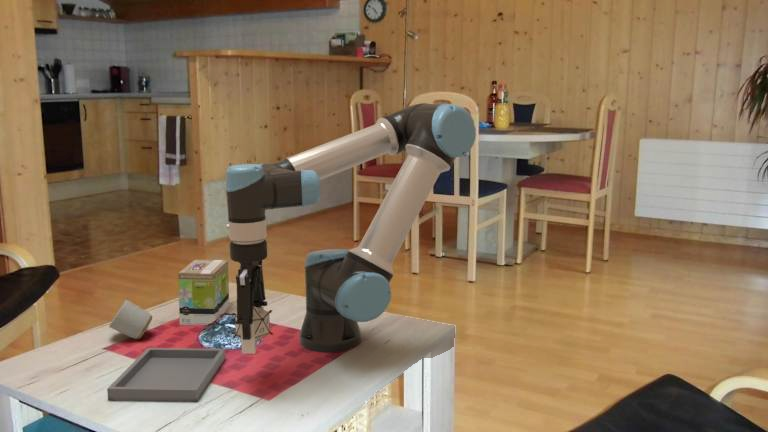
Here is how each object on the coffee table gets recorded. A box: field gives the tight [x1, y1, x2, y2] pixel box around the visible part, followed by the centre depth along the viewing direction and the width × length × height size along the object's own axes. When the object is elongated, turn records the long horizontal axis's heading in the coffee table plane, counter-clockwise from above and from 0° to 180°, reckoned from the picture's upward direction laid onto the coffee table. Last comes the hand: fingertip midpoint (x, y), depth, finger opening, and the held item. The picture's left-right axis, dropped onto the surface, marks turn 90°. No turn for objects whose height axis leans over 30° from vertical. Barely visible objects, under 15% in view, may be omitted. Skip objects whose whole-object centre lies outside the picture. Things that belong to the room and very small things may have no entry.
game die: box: [231, 306, 274, 343], centre depth 145 cm, size 9×8×10 cm
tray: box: [106, 347, 226, 403], centre depth 148 cm, size 18×22×2 cm
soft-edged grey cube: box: [108, 299, 153, 340], centre depth 173 cm, size 11×8×8 cm
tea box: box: [177, 259, 230, 326], centre depth 187 cm, size 15×10×15 cm
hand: (253, 344), depth 146 cm, fingers closed on game die, 9 cm apart
